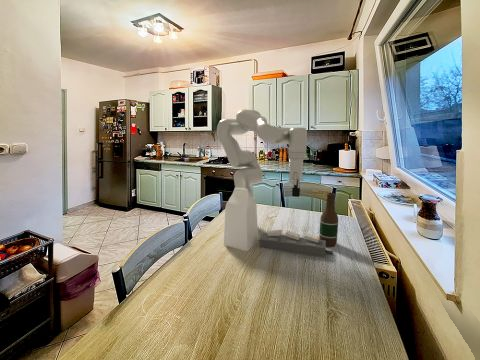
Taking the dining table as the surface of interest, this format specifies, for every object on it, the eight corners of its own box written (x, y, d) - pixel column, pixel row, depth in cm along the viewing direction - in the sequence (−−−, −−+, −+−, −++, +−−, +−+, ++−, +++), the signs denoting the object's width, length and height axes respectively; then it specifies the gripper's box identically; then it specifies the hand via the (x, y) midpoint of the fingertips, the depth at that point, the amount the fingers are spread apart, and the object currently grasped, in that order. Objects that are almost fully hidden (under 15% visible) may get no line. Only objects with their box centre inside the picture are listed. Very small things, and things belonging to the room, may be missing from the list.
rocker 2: (303, 238, 109) (304, 235, 108) (304, 235, 112) (305, 232, 111) (317, 242, 107) (318, 239, 106) (318, 239, 110) (319, 236, 109)
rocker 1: (267, 236, 114) (267, 232, 114) (269, 233, 117) (268, 230, 117) (280, 235, 112) (280, 232, 112) (282, 232, 115) (281, 229, 115)
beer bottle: (338, 248, 111) (342, 195, 107) (319, 246, 113) (322, 194, 108) (335, 241, 119) (338, 191, 114) (318, 239, 120) (320, 190, 116)
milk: (223, 245, 115) (223, 189, 110) (235, 236, 125) (235, 185, 120) (247, 250, 109) (247, 192, 104) (258, 241, 119) (258, 187, 114)
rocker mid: (285, 235, 111) (286, 232, 111) (286, 233, 114) (287, 230, 114) (298, 240, 109) (299, 237, 109) (299, 237, 112) (300, 234, 112)
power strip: (258, 247, 112) (259, 238, 111) (263, 240, 120) (263, 232, 119) (332, 258, 102) (333, 249, 101) (332, 250, 109) (333, 241, 109)
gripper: (290, 154, 119) (289, 192, 123) (286, 157, 105) (285, 199, 109) (307, 154, 117) (305, 193, 120) (304, 157, 103) (302, 201, 106)
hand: (295, 196), depth 114 cm, fingers closed
